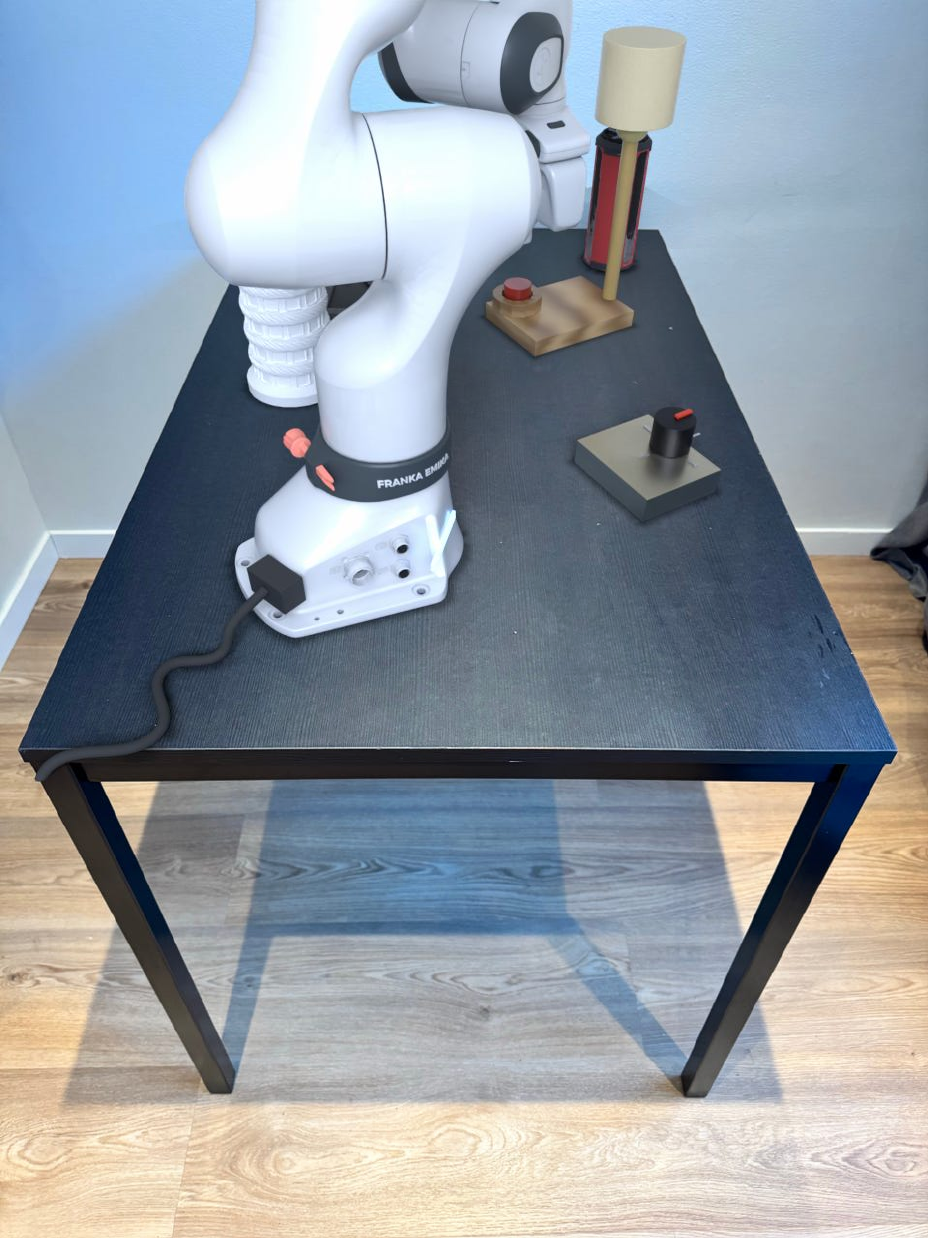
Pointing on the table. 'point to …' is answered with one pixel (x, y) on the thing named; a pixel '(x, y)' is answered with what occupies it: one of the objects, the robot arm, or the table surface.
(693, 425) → the dimmer knob
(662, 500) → the block
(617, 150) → the speaker
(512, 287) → the lamp switch
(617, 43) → the lamp
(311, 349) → the decorative container
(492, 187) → the robot arm
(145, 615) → the table surface
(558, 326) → the lamp base
